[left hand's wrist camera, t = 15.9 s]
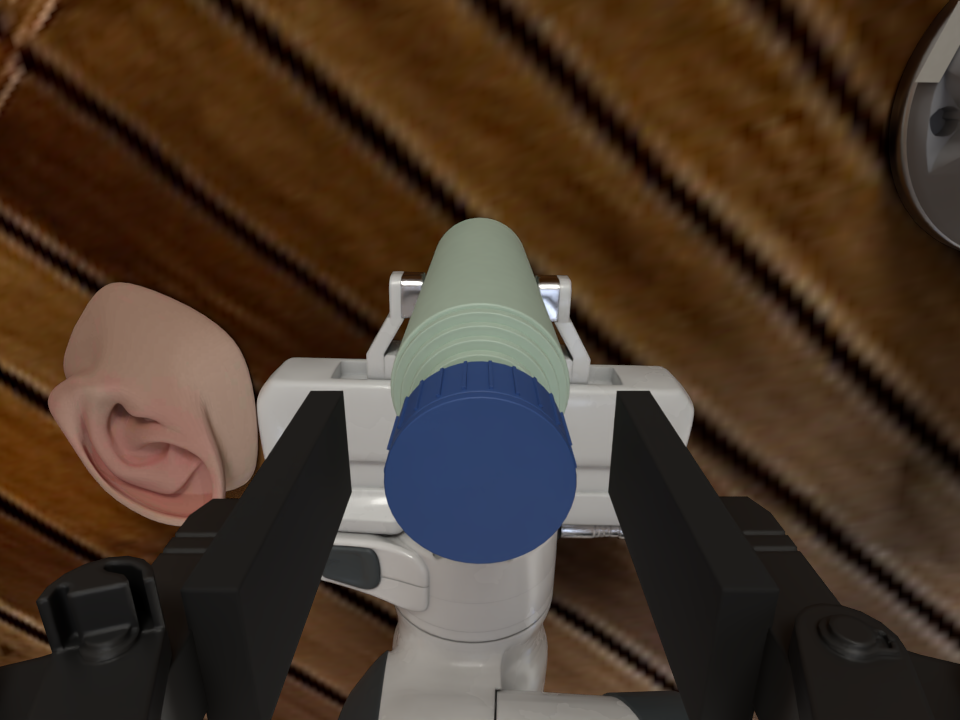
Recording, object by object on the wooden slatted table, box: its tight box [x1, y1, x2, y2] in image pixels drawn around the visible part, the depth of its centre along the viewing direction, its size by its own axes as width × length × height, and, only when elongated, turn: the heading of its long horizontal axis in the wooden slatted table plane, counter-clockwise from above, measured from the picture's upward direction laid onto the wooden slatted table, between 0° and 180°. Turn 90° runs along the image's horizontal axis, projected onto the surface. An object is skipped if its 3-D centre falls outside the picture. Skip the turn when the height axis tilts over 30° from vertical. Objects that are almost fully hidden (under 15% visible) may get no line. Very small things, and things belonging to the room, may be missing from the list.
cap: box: [384, 360, 577, 564], centre depth 14 cm, size 4×4×2 cm
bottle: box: [390, 218, 570, 416], centre depth 24 cm, size 5×5×22 cm
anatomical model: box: [48, 282, 258, 526], centre depth 35 cm, size 13×4×12 cm
